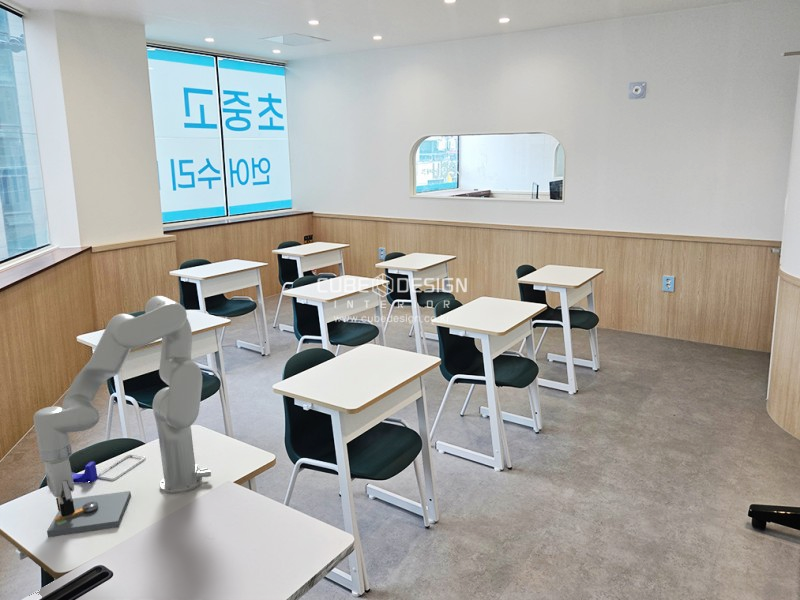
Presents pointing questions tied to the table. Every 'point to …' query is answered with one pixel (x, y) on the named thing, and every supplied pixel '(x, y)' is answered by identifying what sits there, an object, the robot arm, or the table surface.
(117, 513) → the dial panel
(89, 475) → the blue cradle holder
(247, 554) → the table surface
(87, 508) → the dial lever
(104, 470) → the grey rectangular frame
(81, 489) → the table surface
